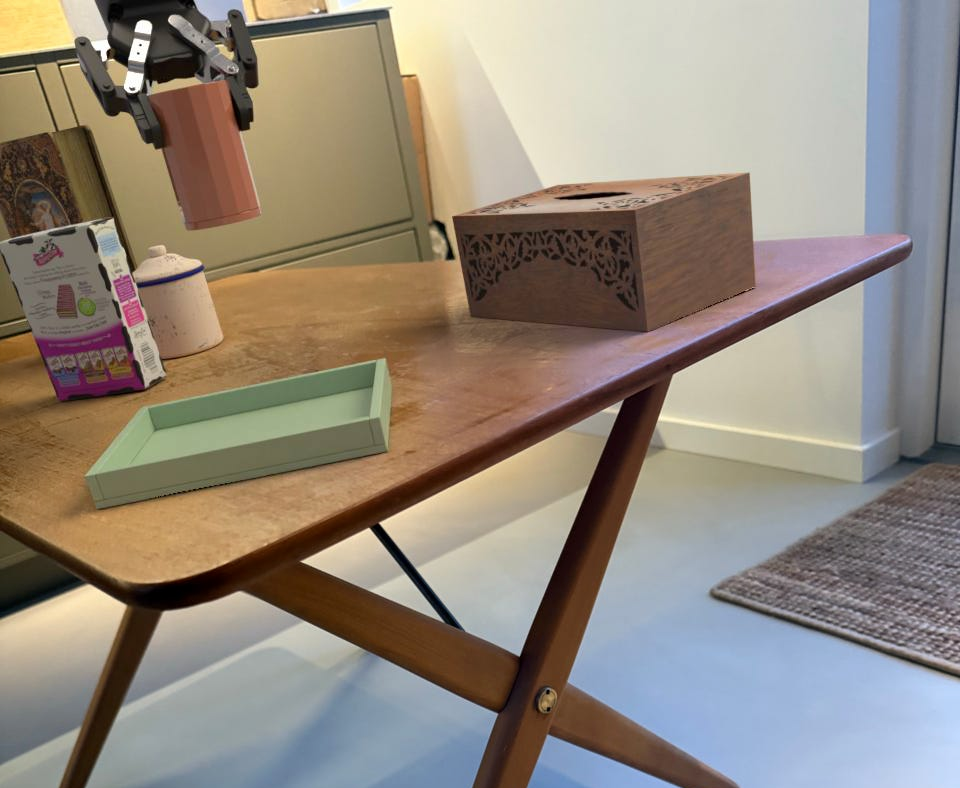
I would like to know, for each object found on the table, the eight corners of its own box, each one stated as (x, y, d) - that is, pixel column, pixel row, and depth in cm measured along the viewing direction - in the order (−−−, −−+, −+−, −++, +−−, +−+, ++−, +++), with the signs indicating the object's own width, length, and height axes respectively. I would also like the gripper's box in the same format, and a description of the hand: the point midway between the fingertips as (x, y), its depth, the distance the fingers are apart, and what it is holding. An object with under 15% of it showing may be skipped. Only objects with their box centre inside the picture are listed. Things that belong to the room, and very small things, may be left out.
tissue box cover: (470, 316, 109) (451, 216, 104) (570, 280, 115) (557, 184, 110) (647, 331, 89) (635, 210, 85) (755, 287, 96) (749, 172, 91)
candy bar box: (170, 376, 110) (116, 214, 102) (147, 391, 106) (88, 223, 98) (82, 388, 114) (23, 232, 106) (56, 402, 109) (-7, 241, 101)
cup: (179, 234, 83) (138, 96, 78) (193, 224, 89) (156, 96, 84) (256, 218, 83) (219, 79, 78) (266, 210, 89) (232, 80, 84)
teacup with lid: (226, 333, 127) (196, 233, 121) (226, 347, 119) (194, 241, 113) (128, 356, 125) (94, 256, 120) (123, 371, 117) (85, 266, 112)
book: (50, 357, 134) (-30, 150, 122) (84, 345, 138) (10, 142, 126) (128, 356, 125) (50, 131, 113) (162, 342, 129) (90, 123, 117)
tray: (96, 509, 75) (83, 476, 73) (150, 436, 90) (140, 407, 89) (387, 451, 74) (379, 416, 72) (392, 387, 89) (385, 357, 88)
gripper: (222, 7, 91) (290, 150, 87) (58, 36, 87) (120, 187, 83) (215, -77, 84) (288, 74, 80) (35, -50, 80) (102, 110, 76)
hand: (202, 131), depth 81 cm, fingers closed on cup, 6 cm apart
